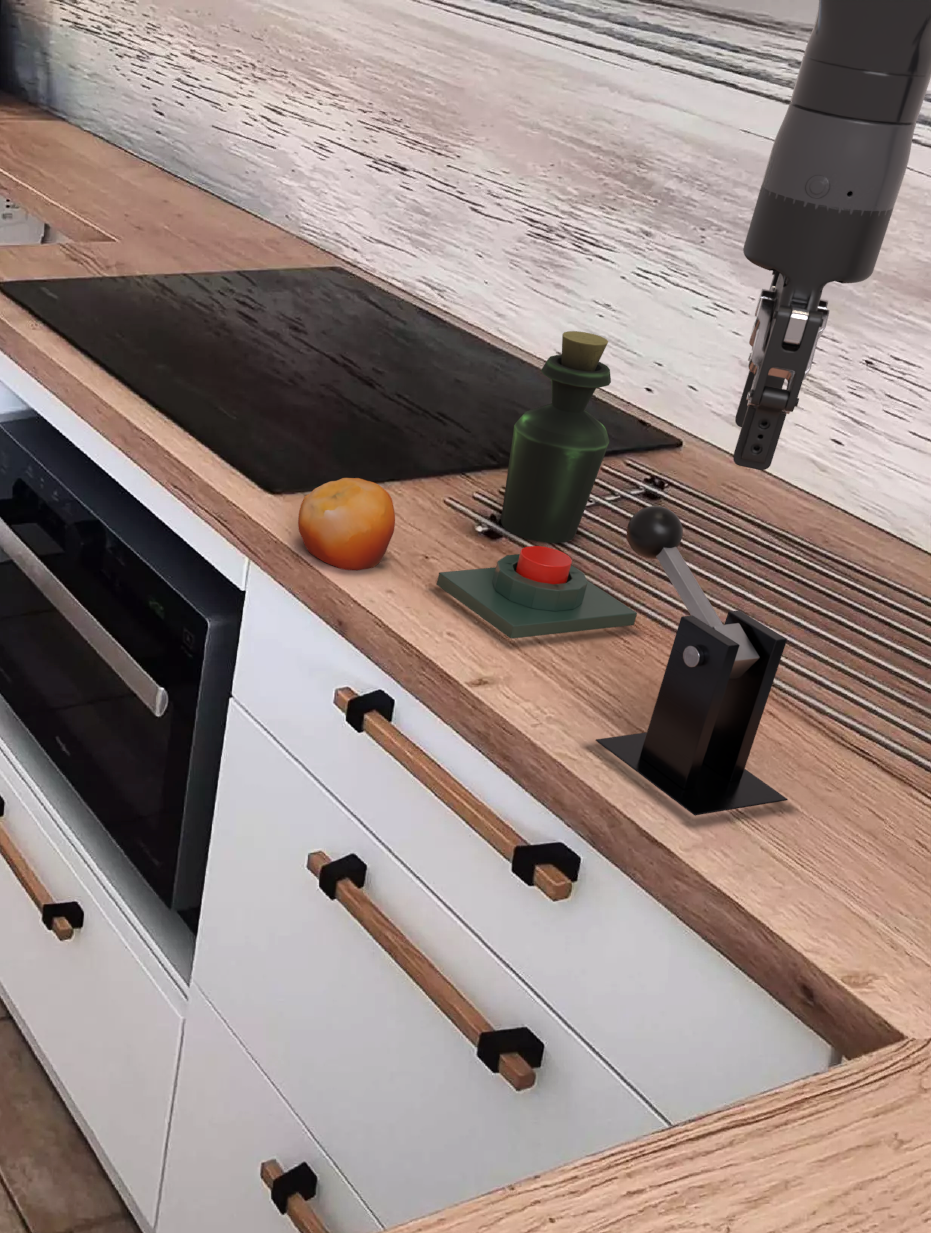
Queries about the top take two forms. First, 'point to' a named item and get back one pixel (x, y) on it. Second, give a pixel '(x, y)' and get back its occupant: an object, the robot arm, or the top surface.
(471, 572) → the button box
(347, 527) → the fruit
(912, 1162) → the top surface
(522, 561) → the button
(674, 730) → the switch bracket
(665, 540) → the switch lever
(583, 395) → the potion bottle
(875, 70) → the robot arm
